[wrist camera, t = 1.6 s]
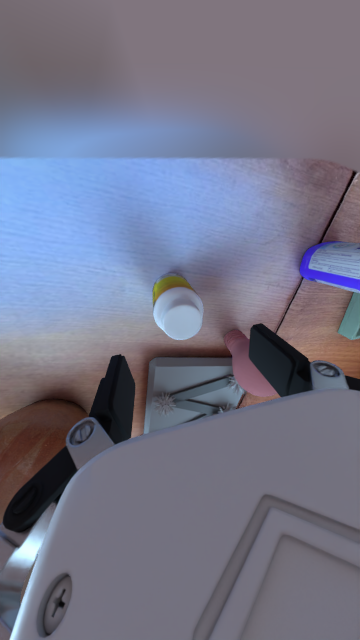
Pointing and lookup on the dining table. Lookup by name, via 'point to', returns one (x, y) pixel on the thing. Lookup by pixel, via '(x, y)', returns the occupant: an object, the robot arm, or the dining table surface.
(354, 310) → the dish rack
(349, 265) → the bottle
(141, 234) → the dining table surface
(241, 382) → the light bulb
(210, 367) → the decorative plate
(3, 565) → the robot arm
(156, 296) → the supplement bottle
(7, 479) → the jug
